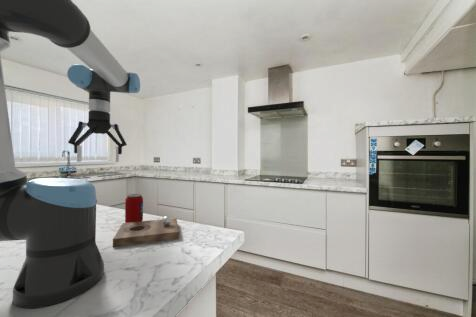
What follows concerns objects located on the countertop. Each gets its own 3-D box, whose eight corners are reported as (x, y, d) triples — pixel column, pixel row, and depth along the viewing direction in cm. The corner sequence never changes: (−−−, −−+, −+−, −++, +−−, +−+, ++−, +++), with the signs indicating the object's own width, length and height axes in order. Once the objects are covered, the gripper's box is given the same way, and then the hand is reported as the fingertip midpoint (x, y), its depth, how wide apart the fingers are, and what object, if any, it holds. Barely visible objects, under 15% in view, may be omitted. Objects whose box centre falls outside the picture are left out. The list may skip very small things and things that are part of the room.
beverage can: (146, 222, 86) (146, 194, 86) (130, 226, 81) (130, 197, 81) (137, 219, 90) (137, 193, 90) (121, 223, 84) (122, 195, 84)
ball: (171, 226, 75) (171, 217, 75) (161, 227, 73) (161, 218, 73) (171, 223, 78) (171, 214, 78) (161, 224, 77) (161, 215, 77)
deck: (176, 224, 85) (176, 218, 85) (178, 238, 70) (178, 231, 70) (122, 229, 78) (122, 222, 78) (112, 246, 63) (112, 239, 63)
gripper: (133, 116, 93) (132, 161, 93) (66, 110, 83) (65, 161, 83) (131, 112, 86) (130, 162, 86) (58, 106, 76) (57, 161, 76)
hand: (98, 161), depth 84 cm, fingers open, 13 cm apart
